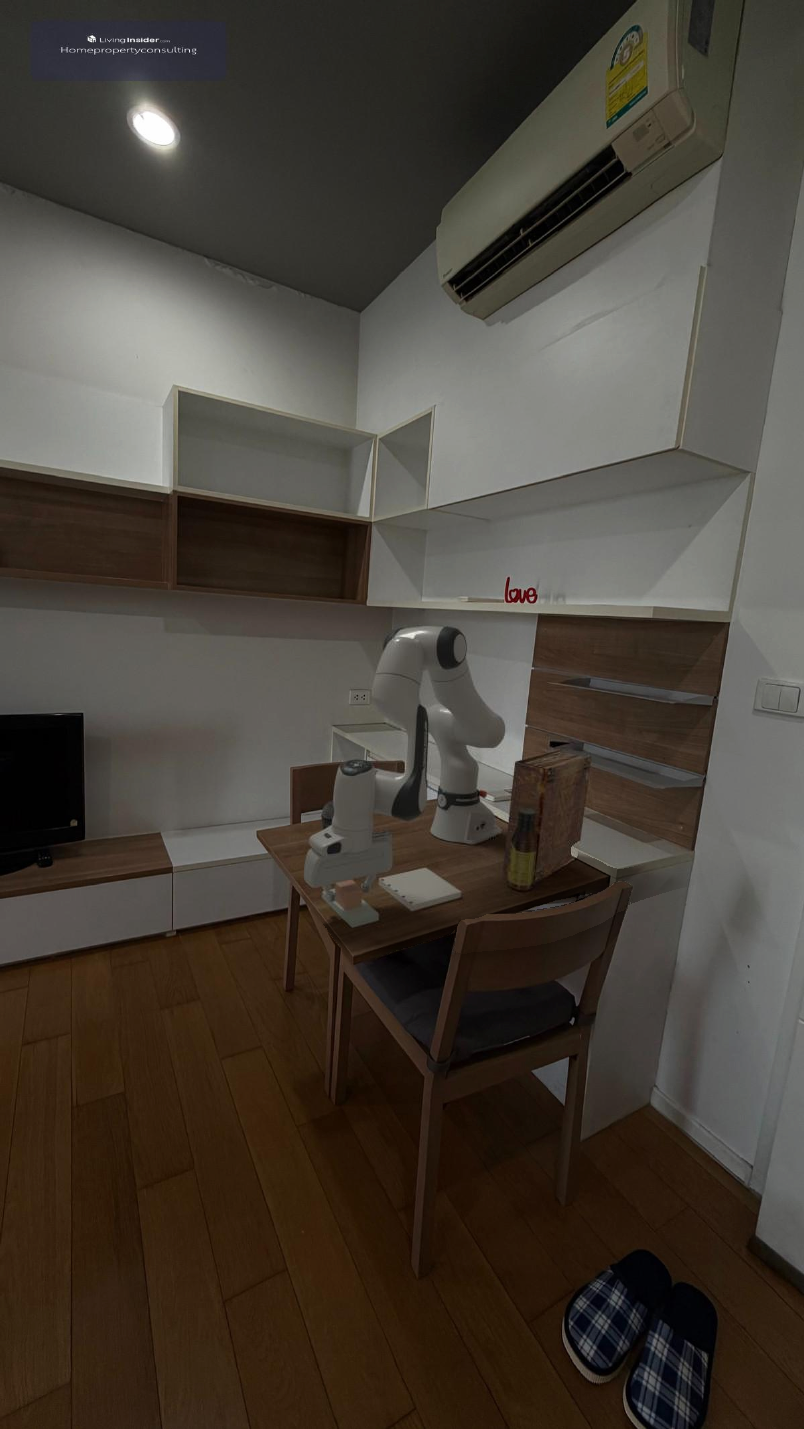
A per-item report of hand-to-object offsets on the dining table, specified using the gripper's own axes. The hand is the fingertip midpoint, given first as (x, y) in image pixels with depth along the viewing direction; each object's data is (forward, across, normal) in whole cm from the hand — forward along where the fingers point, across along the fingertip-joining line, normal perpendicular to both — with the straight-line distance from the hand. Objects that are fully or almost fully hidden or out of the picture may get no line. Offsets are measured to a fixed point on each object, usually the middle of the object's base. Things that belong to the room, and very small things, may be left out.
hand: (348, 896), depth 125 cm
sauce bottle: (+3, -44, +9) cm, 45 cm away
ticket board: (+3, -19, 0) cm, 20 cm away
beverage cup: (+3, -9, -25) cm, 27 cm away
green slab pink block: (+3, 0, 0) cm, 3 cm away
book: (+3, -58, +3) cm, 59 cm away
